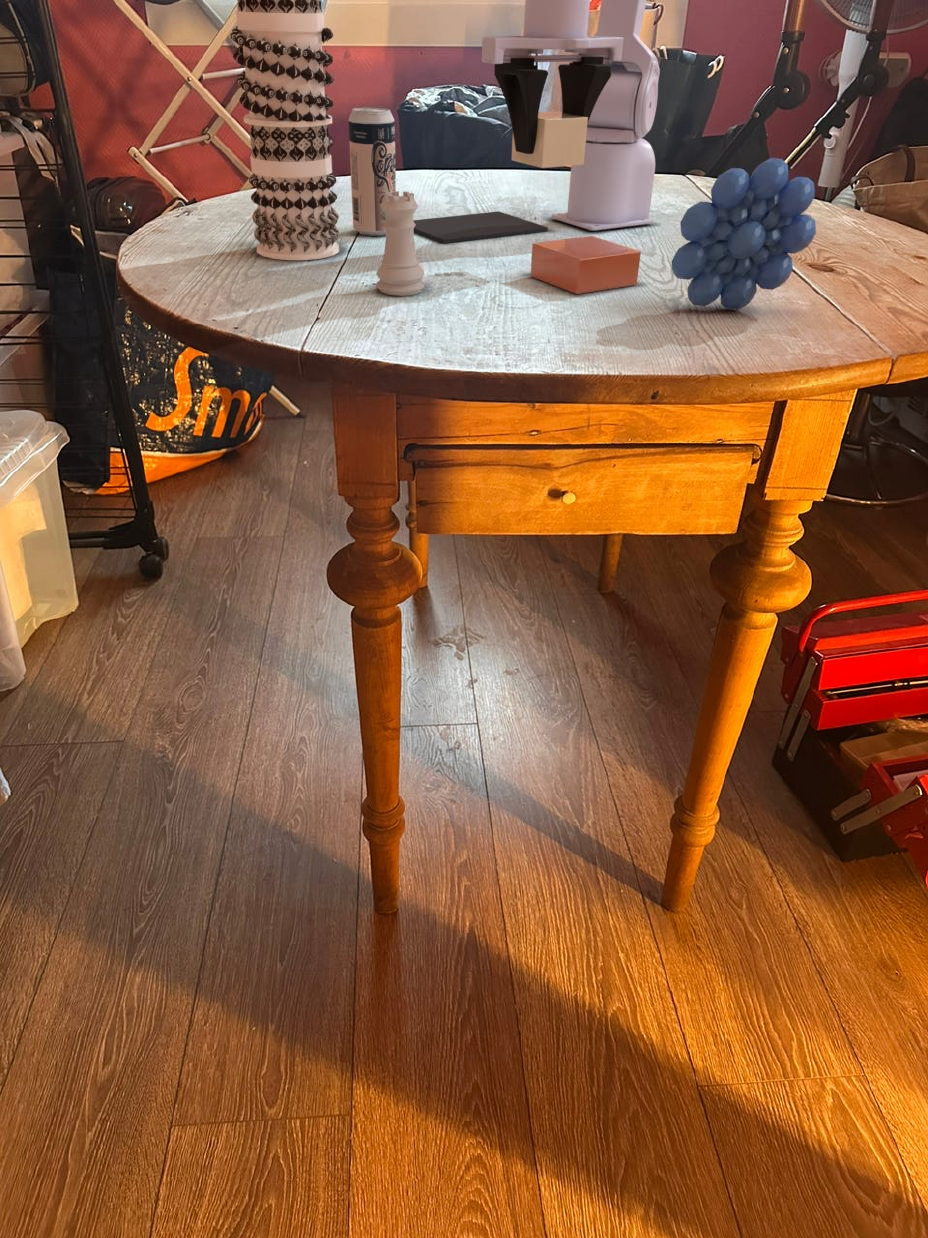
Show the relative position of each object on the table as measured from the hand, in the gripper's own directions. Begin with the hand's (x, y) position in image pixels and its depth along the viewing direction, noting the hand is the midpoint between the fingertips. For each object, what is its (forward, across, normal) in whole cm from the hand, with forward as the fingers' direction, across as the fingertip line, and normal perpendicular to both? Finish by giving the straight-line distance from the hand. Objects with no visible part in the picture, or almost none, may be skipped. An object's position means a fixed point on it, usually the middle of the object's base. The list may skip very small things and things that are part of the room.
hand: (547, 150), depth 88 cm
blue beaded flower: (+10, +5, -21) cm, 24 cm away
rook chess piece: (+10, -18, -3) cm, 21 cm away
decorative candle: (+10, -20, +15) cm, 27 cm away
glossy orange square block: (+10, -1, -8) cm, 13 cm away
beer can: (+10, -9, +19) cm, 23 cm away
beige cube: (+1, 0, 0) cm, 1 cm away
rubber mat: (+10, +2, +16) cm, 19 cm away
